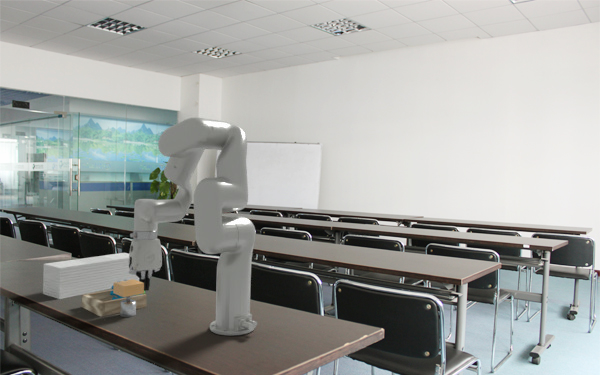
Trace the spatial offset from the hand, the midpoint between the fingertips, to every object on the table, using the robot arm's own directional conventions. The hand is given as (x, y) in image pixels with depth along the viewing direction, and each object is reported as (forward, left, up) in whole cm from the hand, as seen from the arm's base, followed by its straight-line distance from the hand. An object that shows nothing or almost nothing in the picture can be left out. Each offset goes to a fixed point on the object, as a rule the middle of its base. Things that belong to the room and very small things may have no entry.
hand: (144, 289), depth 152 cm
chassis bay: (0, +10, -4) cm, 11 cm away
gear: (-1, +6, -4) cm, 7 cm away
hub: (-11, +11, +3) cm, 16 cm away
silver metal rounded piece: (-11, +11, -4) cm, 16 cm away
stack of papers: (+28, +4, -4) cm, 29 cm away
